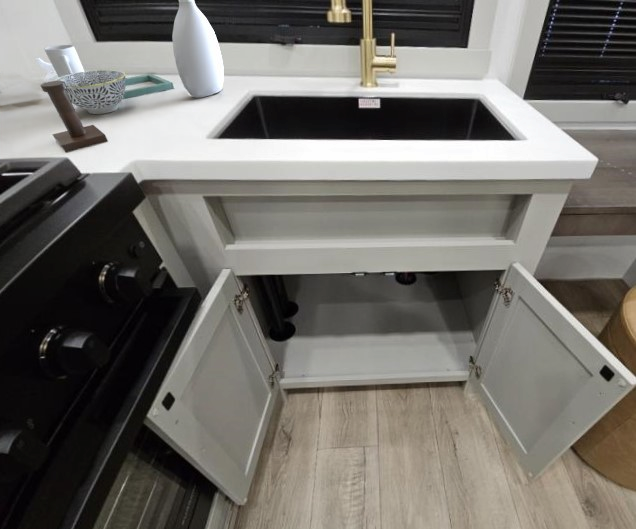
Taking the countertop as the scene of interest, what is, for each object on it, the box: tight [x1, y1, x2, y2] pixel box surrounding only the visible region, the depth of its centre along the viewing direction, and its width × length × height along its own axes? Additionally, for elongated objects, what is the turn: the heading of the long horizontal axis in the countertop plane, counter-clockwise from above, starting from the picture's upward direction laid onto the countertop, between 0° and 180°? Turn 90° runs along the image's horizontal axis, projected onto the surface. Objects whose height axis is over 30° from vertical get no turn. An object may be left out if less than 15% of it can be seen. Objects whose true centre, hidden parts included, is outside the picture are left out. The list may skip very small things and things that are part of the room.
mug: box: [43, 44, 85, 77], centre depth 87 cm, size 10×7×12 cm, turn 33°
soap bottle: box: [171, 0, 225, 99], centre depth 84 cm, size 14×8×27 cm, turn 145°
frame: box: [122, 73, 175, 100], centre depth 98 cm, size 16×16×2 cm
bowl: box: [54, 69, 126, 115], centre depth 81 cm, size 16×16×8 cm
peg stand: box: [39, 81, 109, 153], centre depth 65 cm, size 8×8×11 cm
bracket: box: [35, 57, 59, 83], centre depth 102 cm, size 13×7×8 cm, turn 28°
